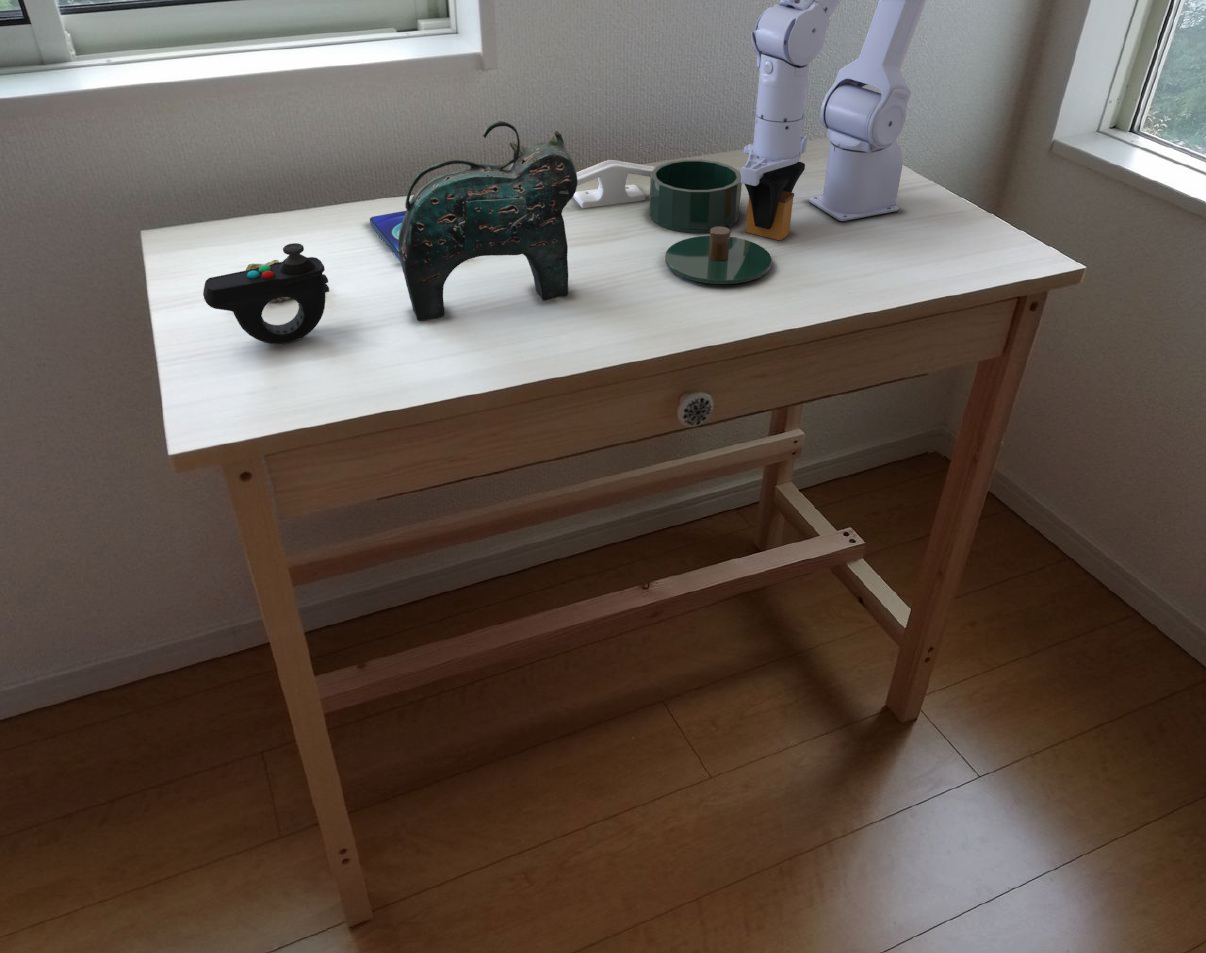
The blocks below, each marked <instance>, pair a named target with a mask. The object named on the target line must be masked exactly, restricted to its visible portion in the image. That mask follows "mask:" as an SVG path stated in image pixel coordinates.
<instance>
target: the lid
mask: <svg viewBox="0 0 1206 953" xmlns="http://www.w3.org/2000/svg"><path fill="white" fill-rule="evenodd" d="M772 260H773V259H772V256H771V254H770V253H769V251H768V250H767V249H766V248H764V247H763V246H761V245H760V244H758V243H755V242H753V241H750V240H747V239H745V238H744V239H743V238H740V237H735V236H731V230H730V228H729V227H728V228H726V227H713V228H711V229H710V232H709V235H700V236H693V237H688V238H685V239H681V240H679V241H677V242H675V243H674V244H672V245H670V246H669V247H668V248H667V250H666V252H665V254H664V261H665V264H666V266H667V268H668V269H669V270H671V272H673V273H675V274H676V275H678V276H680V277H682V278H685V279H688V280H690V281H693V282H699V283H704V284H714V285H734V284H741V283H747V282H750V281H753V280H756V279H759V278H761V277H762V276H764V275H766V274H767V273H768V272H769V271H770V270H771V267H772Z"/></svg>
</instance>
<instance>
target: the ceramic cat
mask: <svg viewBox="0 0 1206 953" xmlns="http://www.w3.org/2000/svg"><path fill="white" fill-rule="evenodd" d="M498 127H499V128H500V127H507V128H510V129H511V130H512V131H513V132H514V133H515V136H516V139H517V142H513V141H510V142H509V145H510V148H511V149H512V151H513V155H512V159H511V160H510V161H508V162H506V163H504V164H503V163H502V164H495V165H494V164H490V163H476V162H473V161H469V160H463V159H462V160H461V159H451V160H448V161H447V160H446V161H443V162H439V163H436V164H433V165H431V166H429V167H427V168H425V169H423V170H420V171H419V172H418V174H417V175H416V176H415V177H414V178H413V179H412V182H411V183H410V185H409V186H408V187H409V188H408V189H407V190H408V191H407V192H406V193H407V194H406V199H405V202H404V204H405V205H404V206H405V211H406V212H405V215H404V218H403V221H402V224H401V227H400V232H399V239H398V250H399V255H400V259H401V261H400V264H401V269H402V273H403V277H404V281H405V285H406V288H407V292H408V297H409V300H410V303H411V307H412V311H413V314H414V315H415V317H416V320H417V321H429V320H430V321H431V320H436V319H440V318H441V319H442V318H443V317H445V313H446V311H445V304H444V287H445V286H444V285H445V284H446V281H447V280H448V278H449V277H450V275H451V274H452V272H453V271H454V270H455V269H456V268H457V267H458V266H460V265H461V264H463V263H465V262H466V261H469V260H471V259H476V258H479V257H489V256H490V257H491V256H493V257H494V256H496V257H497V256H521V255H523V256H525V258H526V260H527V262H528V264H529V267H530V271H531V274H532V277H533V282H534V288H535V289H534V290H535V292H536V294H537V295H538V296H539V298H540V299H541V301H542V302H543V301H548V300H551V299H554V298H564V297H568V295H569V263H568V262H569V261H568V248H569V247H568V241H567V234H566V227H565V226H566V225H565V221H564V217H563V211H564V208H565V207H566V206H567V204H568V203H569V202H570V201H571V200H572V198H574V197H573V196H574V194H575V192H577V188H578V186H577V168H576V165H575V162H574V161H573V158H572V157H571V154H570V153H569V152H568V150H567V148H566V145H565V142H564V139H563V136H562V134H561V133H560V132H559V131H558V130H555V131H554V132H553V134H552V136H551V138H550V140H549V141H548V142H540V143H534V144H532V145H528V146H523V145H521V140H520V134H519V133H518V130H517V129H516V127H515V126H514V125H513V124H511V123H509V122H506V121H502V120H498V121H495V122H492V123H491V124H489V125H488V126H487V127H486V128H485V130H484V131H483V134H482V136H483V138H484V139H487V136H488V135H489V133H491V132H492V131H493V130H494V129H496V128H498ZM451 165H465V166H466V167H463V168H460V169H458V170H455V171H452V172H446V173H442V174H440V175H437V176H435V177H433V178H431V179H430V180H429V181H428V182H427V183H426V184H424V185H423V186H421V187H420V188H419V189H418V190H417V191H416V192H414V195H413V196H412V197H411V195H412V192H413V191H414V190H413V189H414V188H415V187H416V185H417V184H418V183H419V181H420V180H421V179H422V178H423V177H424V176H425V175H427V174H428V173H430V172H432V171H435V170H438V169H441V168H444V167H447V166H451Z"/></svg>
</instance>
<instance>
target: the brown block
mask: <svg viewBox="0 0 1206 953" xmlns="http://www.w3.org/2000/svg"><path fill="white" fill-rule="evenodd" d="M747 195H748V200H747V201H748V203H747V213H746V225H745V233H747V234H752V235H756V236H760V237H764V238H768V239H773V240H776V241H779V242H780V241H782V240H783V239H785V238H786V237H787V236H789V235H790V230H791V221H792V212H793V204H794V197H795V193H794V192H792V193H791V192H787V191H782V194H781V196H780V199H779V202H778V206H777V210H776V215H775V219H774V222H773V225H772V227H771V228H770V229H765V228H760V227H756V226H755V224H754V218H753V211H752V205H751V200H750V197H749V194H747Z"/></svg>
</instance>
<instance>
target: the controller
mask: <svg viewBox="0 0 1206 953" xmlns="http://www.w3.org/2000/svg"><path fill="white" fill-rule="evenodd" d="M304 250H305V247H304V245H303V244H301V243H296V242H295V243H287V244H286V245H284V246H283V247H282V251H283V254H285V255H288V256H287V257H286V258H285V259H284V260H282V261H279V262H278V263H273V264H271V265H269V266H267V265H263V266H261V267H260V268H256V269H251V270H246V269H245V270H241V271H236V272H232V273H228V274H227V273H226V274H223V275H217V276H213V277H211V276H210V277H209V278H207V279H205V281H204V285H203V292H202V295H203V300H204V301H205V303H206V304H207V305H208V306H209V307H210V308H212V309H214V310H220V311H229V312H232V313H233V315H234V317H235V319H236V321H237V323H238V324H239V326H240V327H241V328H242V330H243V331H244V332H245V333H246V334H248V335H249V337H252V338H253V339H255V340H257V341H260V342H263V343H267V344H273V345H283V344H290V343H292V342H295V341H298V340H300V339H302V338H304V337H306V336H307V335H308V334H309V333H311V332H312V331H313V330H314V329H315V328H316V327H317V326H318V324H319V322H320V321H321V320H322V317H323V314H324V312H325V308H326V300H327V299H326V298H327V296H326V294H327V293H329V292H330V287H329V285H328V284H329V279H328V277H327V275H326V274H325V273H324V272H325V271H326V270H325V265H324V263H323V262H322V261H321V260H320V259H319V258H317V257H314V256H308V257H307V256H305V255H303V254H301V253H303V252H304ZM323 273H324V274H323ZM281 297H288V298H290V299H292V300H295V301H296V302H297V304H298V310H297V312H296V314H295V315H294V317H293V318H292V319H290V321H288V322H285V323H282V324H271V323H269V322H266V321H265V320H264V318H263V311H264V309H265V307H267V305H268V304H269V303H270V301H272V300H274V299H276V298H281Z"/></svg>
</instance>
